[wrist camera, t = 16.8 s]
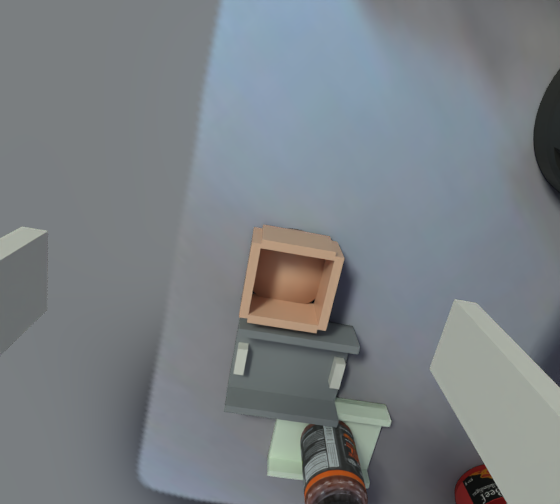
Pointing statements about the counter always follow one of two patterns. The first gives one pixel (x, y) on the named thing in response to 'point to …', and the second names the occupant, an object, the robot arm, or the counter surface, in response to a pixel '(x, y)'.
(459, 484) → the canned food
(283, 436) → the trough
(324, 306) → the open cardboard box
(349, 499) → the supplement bottle
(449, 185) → the counter surface
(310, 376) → the checker cradle
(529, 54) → the counter surface
